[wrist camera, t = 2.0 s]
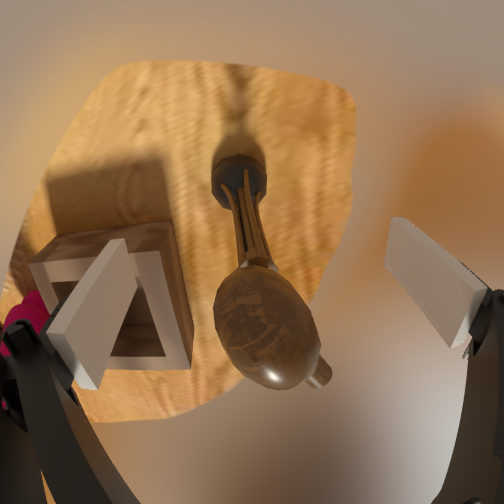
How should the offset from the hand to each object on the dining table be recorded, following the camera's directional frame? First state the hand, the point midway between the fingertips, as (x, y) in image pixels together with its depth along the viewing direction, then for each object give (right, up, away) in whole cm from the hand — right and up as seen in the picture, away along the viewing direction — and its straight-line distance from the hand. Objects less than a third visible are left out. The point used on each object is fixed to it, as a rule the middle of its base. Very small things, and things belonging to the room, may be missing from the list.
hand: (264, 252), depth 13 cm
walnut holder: (-14, -4, +14) cm, 20 cm away
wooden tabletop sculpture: (-1, +6, +11) cm, 13 cm away
